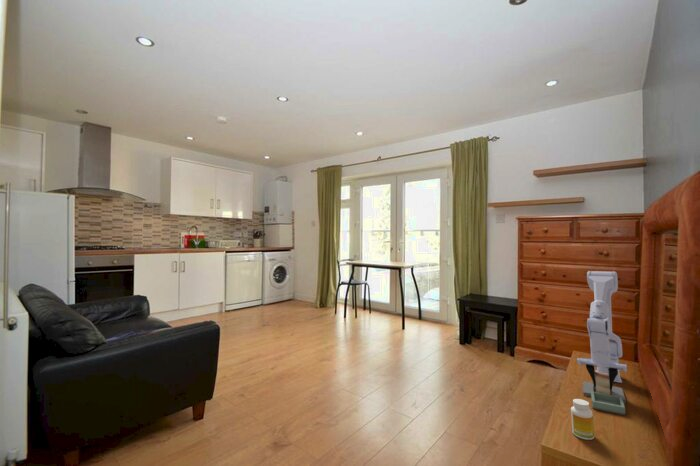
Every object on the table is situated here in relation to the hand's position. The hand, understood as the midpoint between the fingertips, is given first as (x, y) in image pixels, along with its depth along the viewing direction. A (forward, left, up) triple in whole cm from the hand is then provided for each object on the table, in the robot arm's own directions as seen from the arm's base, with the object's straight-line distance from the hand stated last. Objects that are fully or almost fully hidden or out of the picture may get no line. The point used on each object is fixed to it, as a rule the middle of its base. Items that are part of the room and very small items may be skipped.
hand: (602, 386), depth 119 cm
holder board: (0, 0, -3) cm, 3 cm away
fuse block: (0, 0, -2) cm, 2 cm away
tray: (+10, 0, -3) cm, 11 cm away
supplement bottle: (+34, -7, -3) cm, 35 cm away
